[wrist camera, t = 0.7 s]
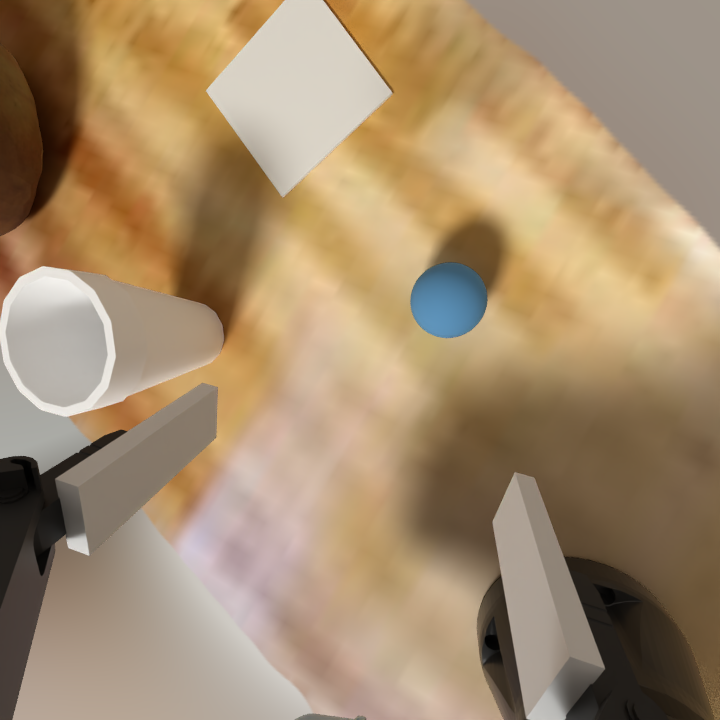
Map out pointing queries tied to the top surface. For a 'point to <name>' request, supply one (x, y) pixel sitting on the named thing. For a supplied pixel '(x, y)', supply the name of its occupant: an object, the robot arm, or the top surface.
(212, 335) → the foam cup
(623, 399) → the top surface
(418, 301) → the ball
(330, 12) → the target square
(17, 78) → the ceramic pitcher
